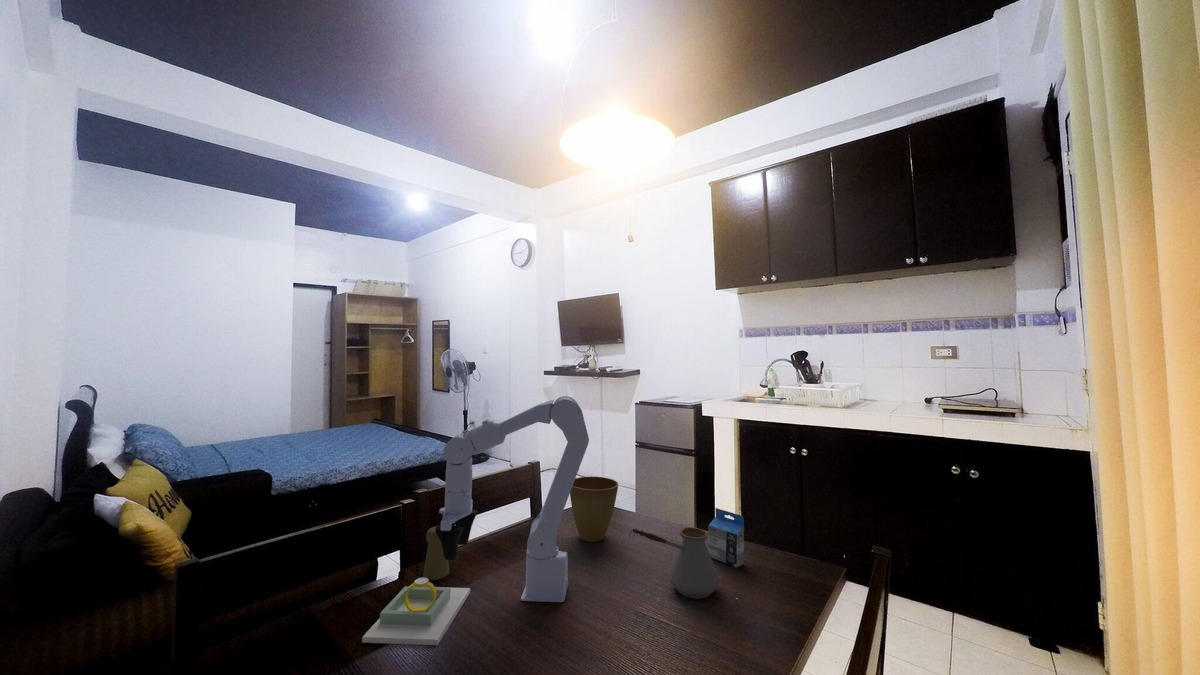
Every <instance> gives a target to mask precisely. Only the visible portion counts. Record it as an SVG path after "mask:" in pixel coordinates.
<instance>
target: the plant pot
mask: <svg viewBox="0 0 1200 675" xmlns="http://www.w3.org/2000/svg"><path fill="white" fill-rule="evenodd" d="M618 489H619V482H618V481H616V480H615V479H612V478H608V477H603V476H581V477H576V478H575V481H574V483H573V486H572V489H571V491H570V494H569V498H570V505H571V509H572V514H573V518H574V522H575V526H576V529H577V533H578V535H579V539H581V540H583V541H586V542H592V543H593V542H600V541H602V540H604V539H605V537H606V535H607V532H608V528H609V526H610V524H611V521H612V518H613V513H614V510H615V506H616V500H617V496H618V495H617V494H618Z"/></svg>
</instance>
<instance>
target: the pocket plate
mask: <svg viewBox="0 0 1200 675" xmlns="http://www.w3.org/2000/svg"><path fill="white" fill-rule="evenodd" d="M409 587H410V585H409V586H404V587H403V588H402V589H401V590H400V591H399V592H398V594H397V595H395V597H393V598H392V600H391V601H390V602H389V603H388V604H387V605H386V606H385V607H384V608H383V609H382V610H381V612H380V613H379V618H378V619H377V621H375V623H374V624H372V626H371V627H370V628H369V629H368V630H367V631H366V632H365V634H364V635H363V636H362V638H361V639H362V640H361V641H362V642H361V643H367V644H388V645H389V644H392V645H417V646H418V645H419V646H421V645H422V646H439V643H440V642H441V640H442V639H443V637H444V635H445V634H446V632H447V631H448V629H449V627H450V626H451V624H452V623H453V621H454V619H455V618H456V616H457V614H458V613H459V611H460V610H461V608H462V606H463V605H464V603H465V601H467V598H468V597H469V595H470V594H471V588H469V587H444V586H434V587H435V588H436V599H435V601H434V603H433V606H432V607H431V608H430V609H429V610H428V611H426V612H425V611H424V612H419V611H409V610H408V609H407V608H406V606H405V603H404V597H405V593H406V592H407V590H408V588H409ZM408 600H409V602H410V604H411V605H412V606H414V607H427V606H428V605H430V604H431V603H432V601H433V593H432V591H431V590H430V588H428V587H427V586H424V587H413V588H411V589H410V590H409V592H408Z"/></svg>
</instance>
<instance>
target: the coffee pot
mask: <svg viewBox="0 0 1200 675" xmlns="http://www.w3.org/2000/svg"><path fill="white" fill-rule="evenodd" d="M632 532H633V536H631V534H632ZM679 534H680V536H681V538H682V541H681V543H676V542H673V541H670V540H667V539H666V538H663V537H661V536H658V535H656V534H653V533H651V532H646V531H645V530H639V529H636V528H633V529H631V530H630V532H629V538H630V539H634V538H635V535H640V537H645V538H647V539H649V540H651V541H654V542H658V543H662V544H666V545H668V546H670V547H673V548H676V549H678V551H677V553H676V555H675V557H674V560H673V562H672V564H671V566H670V569H669V572H668V578H669V581H670V583H671V584H672V586H673V587H674V588H675V589H676V590H677V592H678V593H679V594H680V595H683V596H684V597H687V598H689V599H690V598H691V599H697V600H698V599H704V598H707V597H709V596H710V595H711V594H713V593H714V592H715V591H716V590H717V589H718V587H719V584H720V578H719V574H718V572H717V569H716V566H715V565H714V562H713V560H712V559H713V558H711V557H710V554H709V552H708V546H707V545H706V540H707V539H708V532H707V531H706V530H703V529H701V528H697V527H688V526H687V527H684V528H681V529H680V531H679Z"/></svg>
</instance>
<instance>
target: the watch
mask: <svg viewBox="0 0 1200 675" xmlns="http://www.w3.org/2000/svg"><path fill="white" fill-rule="evenodd" d="M409 586H410V587H409ZM409 586H408V587H409V588H408V590H407V592H406V593H405V597H404V603H405V606H406V608H407V609H408V610H409V611H419V612H424V611H425V612H426V611H428V610H429V609H430V608H431V607H432V606H433V603H434V601H435V599H436V588H435V587H436V586H435V585H434V584H433V583H432V582H431V581H430V580H428V578H424V577H419V578H416V579H415V580H414V582H413V583H411V584H410V585H409ZM413 587H428V588H430V590H431V591H432V593H433V601H432V603H431V604H430V605H428V606H427V607H414V606H412V605H411V604H410V602H409V600H408V592H409V590H410V589H411V588H413Z"/></svg>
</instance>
